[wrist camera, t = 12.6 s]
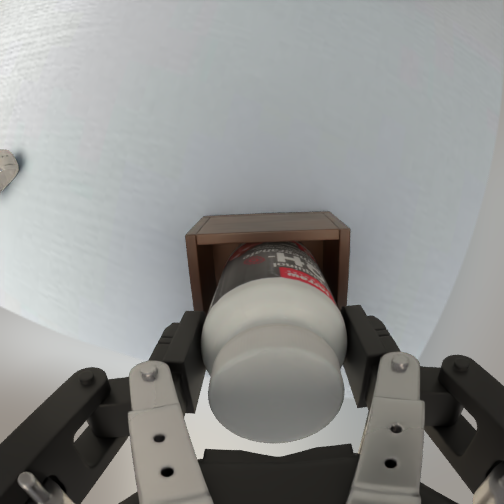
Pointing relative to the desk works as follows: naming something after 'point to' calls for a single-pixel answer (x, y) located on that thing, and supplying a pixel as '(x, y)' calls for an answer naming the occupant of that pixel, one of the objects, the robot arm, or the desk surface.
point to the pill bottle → (274, 344)
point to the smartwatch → (7, 168)
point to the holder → (266, 230)
